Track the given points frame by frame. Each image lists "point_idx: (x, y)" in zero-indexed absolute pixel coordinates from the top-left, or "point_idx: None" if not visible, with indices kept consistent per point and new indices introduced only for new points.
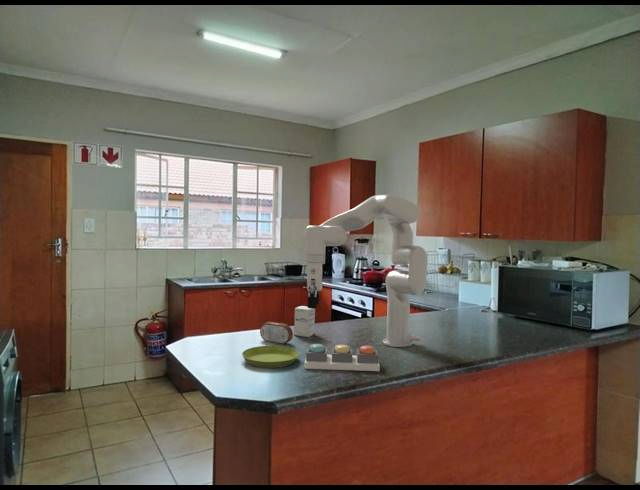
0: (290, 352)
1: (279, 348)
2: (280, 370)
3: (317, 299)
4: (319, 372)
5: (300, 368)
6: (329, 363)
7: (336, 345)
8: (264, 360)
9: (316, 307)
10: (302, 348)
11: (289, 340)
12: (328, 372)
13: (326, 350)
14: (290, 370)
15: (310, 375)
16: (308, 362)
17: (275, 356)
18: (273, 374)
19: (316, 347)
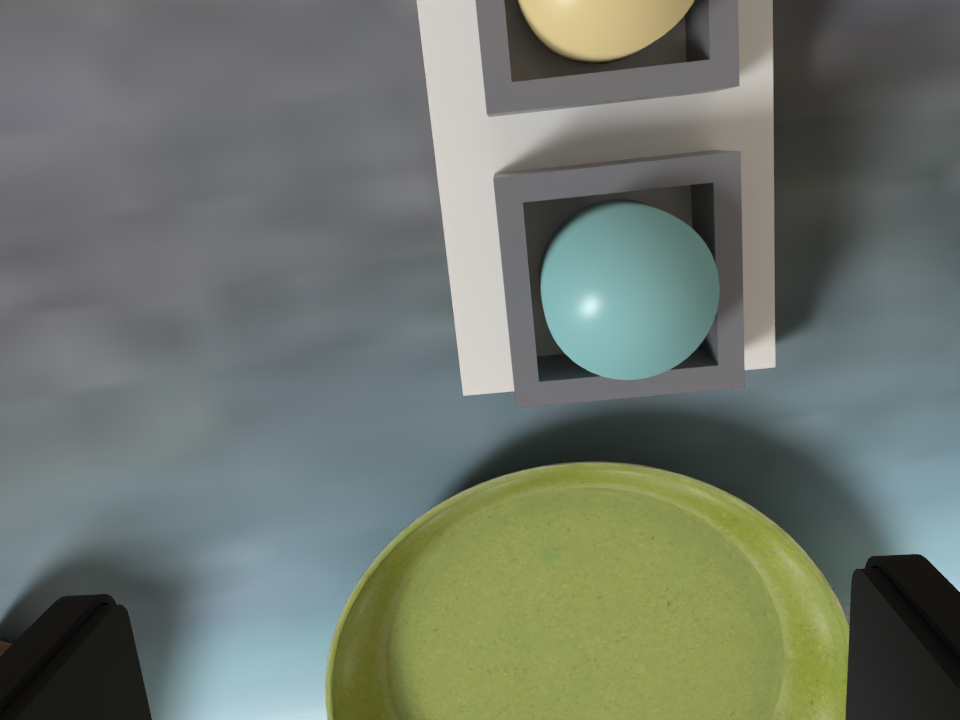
0: (401, 555)
1: (345, 671)
2: (833, 536)
3: (57, 710)
4: (856, 195)
5: (758, 386)
6: (767, 109)
7: (567, 41)
8: (608, 709)
9: (921, 561)
10: (119, 479)
11: (3, 642)
12: (848, 107)
13: (614, 172)
14: (824, 459)
15: (950, 265)
16: (761, 331)
17: (475, 653)
18: (942, 567)
19: (711, 292)
